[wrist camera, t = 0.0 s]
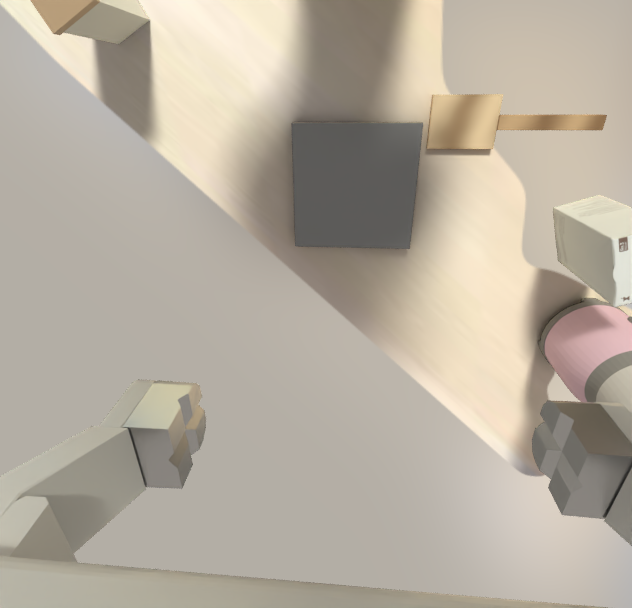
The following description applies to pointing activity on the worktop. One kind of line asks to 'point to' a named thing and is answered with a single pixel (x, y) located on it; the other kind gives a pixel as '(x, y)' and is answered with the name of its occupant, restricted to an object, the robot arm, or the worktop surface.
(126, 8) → the grey canister
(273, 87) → the worktop surface
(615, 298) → the skincare box
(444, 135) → the beech turner
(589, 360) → the blender
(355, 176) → the slate tile
